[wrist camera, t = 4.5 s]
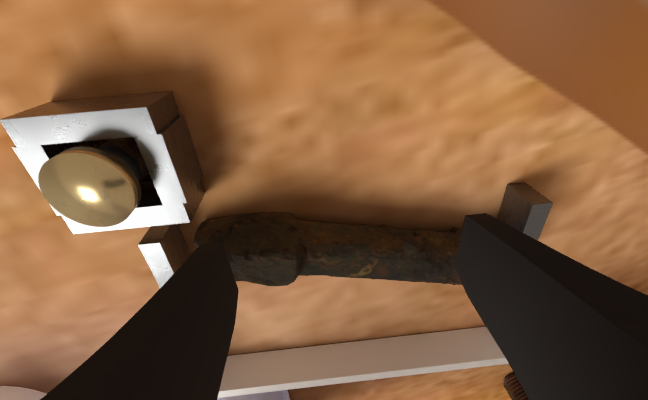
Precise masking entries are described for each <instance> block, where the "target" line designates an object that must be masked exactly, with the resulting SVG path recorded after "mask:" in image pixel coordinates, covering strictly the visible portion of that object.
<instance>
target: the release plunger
mask: <svg viewBox="0 0 648 400" xmlns="http://www.w3.org/2000/svg"><path fill="white" fill-rule="evenodd" d="M148 174H149V171H148V169H147V167H146V164H145V162H144V160H143V157H142V155H141V152H140V150H139V148H138V145H137V143H136V141H135V138H133V137H125V138H114V139H110V140H108V141H107V142H105V143H104V144H102V145H101V146H99V147H98V148H93V147H84V146H83V147H72V148H69V149H66V150H64V151H62V152H61V153H59V154H57V155H56V156H54V157H52V158H50V159H49V160H48V161H46V162H45V163H44V164H43V165H42V167H41V169H40V171H39V175H38V183H39V187H40V190H41V192H42V194H43V196H44V197H45V199H46V200H47V201H48V203H49V204H50V205H51V206H52V207H53V208H54V209H55V210H57V211H58V212H59V213H61V214H62V215H64V216H65V217H67V218H69V219H71V220H73V221H75V222H78V223H81V224H84V225H88V226H93V227H109V226H114V225H117V224H119V223H121V222H123V221H125V220H126V219H127V218H128V217H129V215H130V214H131V213H132V212H133V211H134V209H135V208H136V207H137V206H138V204H139V202H140V200H141V194H142V193H141V186H140V182H141V181H142V180H143V179H144V178H145V177H146V176H147V175H148Z"/></svg>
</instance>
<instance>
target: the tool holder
mask: <svg viewBox="0 0 648 400" xmlns="http://www.w3.org/2000/svg"><path fill="white" fill-rule="evenodd" d="M0 122H1V124H2V125H3V127H4V128H5V130H6V131H7V133H8V134H9V136H10V137H11V139H12V141H13V142H14V144H15V145H16V146H15V147H13V150H14V151H15V153H16V154H17V156H18V157H19V159H20V160H21V162H22V163H23V165H24V166H25V168H26V169H27V171H28V172H29V174H30V175H31V177H32V178H33V180H34V182H35V183H36V185H37V186H38V188H39V189H40V187H39V183H38V175H39V171H40V169H41V167H42V165H43V164H44V163H45V162H46V161H48V160H49V159H50V158H52V157H54V156H56V155H57V154H59V153H61V152H62V151H64V150H66V149H69V148H72V147H83V146H84V147H93V148H94V146H93V144H92V142H91V141H92V140H103V139H114V138H125V137H134V138H135V141H136V143H137V145H138V148H139V150H140V152H141V155H142V157H143V160H144V162H145V164H146V167H147V169H148V171H149V174H150V176H151V179H152V181H141V182H140V186H141V193H142V194H141V200H140V202H139V204H138V206H137V207H136V208H135V209H134V211H133V212H132V213H131V214H130V215H129V217H128V218H127V219H126V220H125V221H123V222H121V223H119V224H117V225H114V226H109V227H93V226H88V225H84V224H81V223H78V222H75V221H73V220H71V219H69V218H67V217H65V216H64V215H62V214H61V213H59V212H58V211H57V210H55V209H54V208H53V207H52V206H51V205H50V206H51V207H52V209H53V210H54V212H55V213H56V215H57V216H58V215H61V216H62V217H63V219H64V220H65V222H66V223H67V225H68V227H69V228H70V230H71V231H72V233H73V234H80V233H90V232H100V231H110V230H120V229H130V228H140V227H150V226H151V227H150V228H149V230H148V231H147V233H146V234H145V236H144V237H143V239H142V240H141V241H140V243H139V244H138V246H139V248H140V250H141V252H142V253H143V255H144V257H145V259H146V261H147V263H148V265H149V267H150V269H151V271H152V273H153V275H154V277H155V279H156V281H157V282H158V284H159V286H160V288H161V287H162V286H163V285H164V284H165V283H166V282H167V281H168V280H169V279H170V277H171V276H172V275H173V274H174V273H175V272H176V271H177V270H178V269H179V268H180V267H181V265H182V264H183V263H184V262H185V261H186V260H187V259H188V258H189V257H190V253H189V251H188V248H187V246H186V243H185V241H184V238H183V236H182V233H181V231H180V229H179V226H178V224H180V223H190V222H191V220H192V218H193V216H194V214H195V212H196V210H197V208H198V206H199V204H200V202H201V200H202V198H203V196H204V194H205V192H204V189H203V186H202V183H201V180H200V179H201V178H202V176H203V175H202V172H201V169H200V166H199V163H198V159H197V156H196V153H195V150H194V147H193V144H192V141H191V137H190V134H189V131H188V128H187V125H186V122H185V119H184V115H179V112H178V109H177V106H176V103H175V100H174V97H173V94H172V91H170V92H159V93H147V94H136V95H124V96H112V97H101V98H89V99H78V100H66V101H54V102H48V103H45V104H42V105H40V106H37V107H34V108H31V109H28V110H26V111H23V112H20V113H17V114H14V115H12V116H9V117H6V118H3V119H0ZM40 191H41V190H40ZM552 204H553V203H552V202H551V201H550V200H548V199H547V198H545V197H544V196H543V195H541V194H540V193H539V192H537V191H536V190H535V189H533V188H532V187H531V186H529V185H528V184H526V183H516V184H507V187H506V191H505V194H504V198H503V201H502V204H501V208H500V211H499V215H498V218H497V219H498V220H500V221H502V222H504V223H506V224H508V225H510V226H512V227H513V228H515V229H517V230H519V231H521V232H523V233H524V234H526V235H528V236H530V237H532V238H534V239H535V240H537V241H538V238H539V236H540V233H541V231H542V228H543V226H544V224H545V221H546V219H547V216H548V214H549V211H550V209H551V206H552Z"/></svg>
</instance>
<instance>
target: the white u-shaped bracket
mask: <svg viewBox="0 0 648 400" xmlns="http://www.w3.org/2000/svg"><path fill="white" fill-rule="evenodd" d="M501 364H509V363H508V361H507V359H506V358H505V356H504V355H503V353H502V351H501V350H500V348H499V346H498V345H497V343H496V342H495V340H494V338H493V337H492V335H491V333H490V332H489V330H488V329H487V327H478V328H469V329H460V330H451V331H443V332H434V333H425V334H416V335H407V336H399V337H390V338H381V339H372V340H364V341H355V342H346V343H337V344H328V345H320V346H311V347H302V348H293V349H284V350H276V351H267V352H258V353H249V354H241V355H232V356H227V360H226V364H225V368H224V373H223V377H222V381H221V385H220V390H219V394H218V398H222V397H230V396H239V395H247V394H256V393H264V392H273V391H281V390H290V389H298V388H307V387H315V386H324V385H332V384H340V383H349V382H357V381H366V380H374V379H383V378H391V377H400V376H408V375H417V374H425V373H434V372H442V371H451V370H459V369H468V368H476V367H485V366H493V365H501Z"/></svg>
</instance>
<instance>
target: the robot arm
mask: <svg viewBox="0 0 648 400" xmlns="http://www.w3.org/2000/svg"><path fill="white" fill-rule="evenodd" d="M455 268H456V271H457V273H458V275H459V278H460V280H461V282H462V284H463V287H464V289H465V291H466V293H467V295H468V297H469V299H470V301H471V302H472V304H473V306H474V307H475V309H476V311H477V312H478V314H479V316H480V317H481V319H482V320H483V322H484V324H485V325H486V327H487V329H488V330H489V332H490V333H491V335H492V337H493V338H494V340H495V342H496V343H497V345H498V346H499V348H500V350H501V351H502V353H503V355H504V356H505V358H506V359H507V361H508V363H509V364H510V366H511V368H512V369H513V371H514V373H515V375H516V376H517V378H518V380H519V382H520V383H521V385H522V387H523V389H524V391H525V393H526V395H527V397H528V399H529V400H648V295H645V294H643V293H641V292H639V291H636V290H634V289H632V288H630V287H628V286H626V285H623V284H621V283H619V282H617V281H615V280H613V279H611V278H609V277H607V276H605V275H603V274H601V273H599V272H597V271H595V270H593V269H590V268H588V267H587V266H585V265H583V264H581V263H579V262H577V261H575V260H573V259H571V258H569V257H567V256H565V255H563V254H561V253H560V252H558V251H556V250H554V249H552V248H550V247H548V246H546V245H545V244H543V243H541V242H539V241H537V240H535V239H534V238H532V237H530V236H528V235H526V234H524V233H523V232H521V231H519V230H517V229H515V228H513V227H512V226H510V225H508V224H506V223H504V222H502V221H500V220H498V219H496V218H494V217H492V216H490V215H488V214H486V213H484V214H475V215H466V216H465V219H464V224H463V229H462V233H461V238H460V242H459V247H458V252H457V256H456V261H455ZM237 300H238V287H237V284H236V281H235V278H234V275H233V272H232V269H231V266H230V263H229V260H228V257H227V254H226V251H225V248H224V245H223V242H215V243H206V244H201V245H200V246H199V247H198V248H197V249H196V250H195V251H194V252H193V253H192V254H191V256H190V257H189V258H188V259H187V260H186V261H185V262H184V263H183V264H182V265H181V267H180V268H179V269H178V270H177V271H176V272H175V273H174V274H173V275H172V276H171V277H170V279H169V280H168V281H167V282H166V283H165V284H164V285H163V286H162V287H161V288H160V289H159V290H158V291H157V292H156V294H155V295H154V296H153V297H152V298H151V299H150V300H149V301H148V302H147V303H146V304H145V305H144V306H143V307H142V308H141V309H140V310H139V311H138V312H137V313H136V314H135V315H134V316H133V317H132V318H131V319H130V320H129V321H128V322H127V323H126V324H125V325H124V326H123V327H122V328H121V329H120V330H119V331H118V332H117V333H116V334H115V335H114V336H113V337H112V338H111V339H109V340H108V341H107V342H106V343H105V344H104V345H103V346H102V347H101V348H100V349H99V350H98V351H96V352H95V353H94V354H93V355H92V356H91V357H90V358H89V359H88V360H86V361H85V362H84V363H83V364H82V365H81V366H79V367H78V368H77V369H76V370H75V371H74V372H73V373H71V374H70V375H69V376H68V377H67V378H66V379H64V380H63V381H62V382H61V383H60V384H59V385H57V386H56V387H55V388H54V389H53V390H51V391H50V392H49V393H48V394H46V395H45V396H44V397H43V398H41V399H40V400H290V396H289V392H288V390H281V391H273V392H264V393H256V394H247V395H239V396H230V397H222V398H218V394H219V390H220V385H221V381H222V377H223V373H224V368H225V364H226V360H227V356H228V351H229V347H230V343H231V338H232V334H233V329H234V325H235V318H236V310H237Z"/></svg>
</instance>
